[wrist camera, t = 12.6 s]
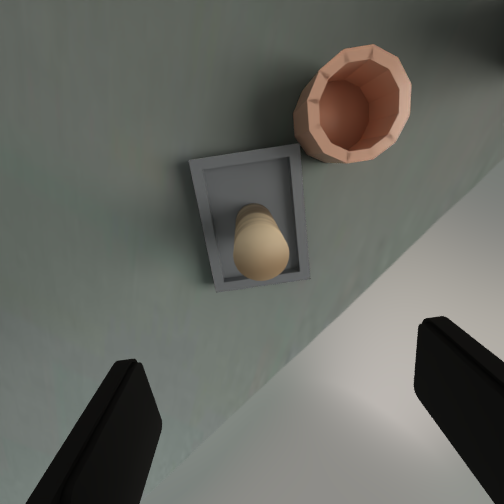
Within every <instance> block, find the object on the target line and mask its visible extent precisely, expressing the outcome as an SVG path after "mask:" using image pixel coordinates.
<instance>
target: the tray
mask: <svg viewBox="0 0 504 504" xmlns="http://www.w3.org/2000/svg"><path fill="white" fill-rule="evenodd" d="M188 161H189V165H190V170H191V175H192V180H193V184H194V189H195V194H196V199H197V204H198V208H199V213H200V218H201V223H202V227H203V232H204V237H205V242H206V247H207V251H208V256H209V261H210V266H211V270H212V275H213V280H214V285H215V290H216V292H223V291H230V290H237V289H244V288H251V287H258V286H265V285H272V284H279V283H286V282H293V281H300V280H307V279H310V267H309V254H308V242H307V229H306V216H305V203H304V190H303V178H302V165H301V152H300V143H296V144H290V145H283V146H277V147H270V148H264V149H257V150H250V151H244V152H237V153H231V154H224V155H218V156H211V157H204V158H198V159H191V160H188ZM251 203H257V204H261V205H263V206H265V207H266V208H267V209H268V210H269V212H270V213H271V215H272V217H273V219H274V221H275V222H276V224H277V226H278V228H279V230H280V231H281V233H282V235H283V237H284V239H285V240H286V242H287V244H288V247H289V260H288V263H287V265H286V267H285V269H284V270H283V271H282V272H281V273H280V274H279V275H278V276H276V277H274V278H272V279H269V280H265V281H256V280H252V279H249V278H247V277H245V276H244V275H242V274H241V273H240V272H239V270H238V269H237V267H236V265H235V263H234V259H233V250H234V238H235V225H236V217H237V214H238V212H239V211H240V209H241V208H242V207H244V206H245V205H248V204H251Z"/></svg>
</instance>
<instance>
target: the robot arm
mask: <svg viewBox="0 0 504 504" xmlns="http://www.w3.org/2000/svg"><path fill="white" fill-rule="evenodd" d="M414 390H415V393H416V395H417V397H418V399H419V400H420V401H421V403H422V404H423V406H424V407H425V408H426V410H427V411H428V412H429V414H430V415H431V417H432V418H433V419H434V421H435V422H436V423H437V425H438V426H439V427H440V429H441V430H442V432H443V433H444V434H445V436H446V437H447V438H448V440H449V441H450V443H451V444H452V445H453V447H454V448H455V450H456V451H457V452H458V454H459V455H460V456H461V458H462V459H463V461H464V462H465V463H466V464H467V466H468V467H469V469H470V470H471V472H472V473H473V474H474V476H475V477H476V478H477V480H478V481H479V483H480V484H481V485H482V487H483V488H484V489H485V491H486V492H487V494H488V495H489V496H490V498H491V499H492V501H493V502H494V503H495V504H504V362H503V361H502V360H500V359H499V358H498V357H497V356H495V355H494V354H493V353H492V352H490V351H489V350H487V349H486V348H485V347H484V346H482V345H481V344H480V343H479V342H477V341H476V340H475V339H474V338H472V337H471V336H470V335H469V334H467V333H466V332H465V331H463V330H462V329H461V328H460V327H458V326H457V325H456V324H454V323H453V322H452V321H451V320H449V319H448V318H447V317H444V316H440V317H433V318H426V319H424V320H423V322H422V324H420V325H419V326H418V337H417V349H416V362H415V376H414ZM161 430H162V419H161V416H160V413H159V411H158V408H157V405H156V402H155V399H154V396H153V393H152V391H151V388H150V385H149V382H148V379H147V376H146V374H145V371H144V368H143V365H142V363H140V362H139V363H138V362H137V360H136V359H128V360H120V361H116V362H115V363H114V364H113V366H112V368H111V369H110V371H109V372H108V374H107V375H106V377H105V379H104V380H103V382H102V383H101V385H100V386H99V388H98V390H97V391H96V393H95V394H94V396H93V398H92V399H91V401H90V402H89V404H88V405H87V407H86V409H85V410H84V412H83V413H82V415H81V417H80V418H79V420H78V421H77V423H76V424H75V426H74V428H73V429H72V431H71V432H70V434H69V436H68V437H67V439H66V440H65V442H64V443H63V445H62V447H61V448H60V450H59V451H58V453H57V455H56V456H55V458H54V459H53V461H52V462H51V464H50V466H49V467H48V469H47V470H46V472H45V473H44V475H43V477H42V478H41V480H40V481H39V483H38V485H37V486H36V488H35V489H34V491H33V492H32V494H31V496H30V497H29V499H28V500H27V502H26V504H139V503H140V500H141V497H142V494H143V490H144V487H145V484H146V480H147V477H148V474H149V470H150V467H151V464H152V460H153V457H154V454H155V450H156V447H157V444H158V441H159V437H160V434H161Z"/></svg>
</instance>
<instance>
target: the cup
mask: <svg viewBox="0 0 504 504" xmlns="http://www.w3.org/2000/svg"><path fill="white" fill-rule="evenodd" d="M410 103H411V82H410V80H409V78H408V76H407V74H406V72H405V70H404V68H403V66H402V64H401V62H400V60H399V58H398V57H396V56H394V55H393V54H391V53H389V52H387V51H385V50H383V49H381V48H379V47H377V46H376V45H374V44H372V45H366V46H359V47H353V48H347V49H343V50H342V51H341V52H340V53H339V54H337V55H336V56H335V57H334V58H333V59H332V60H330V61H329V62H328V63H327V64H326V65H325V66H323V67H322V68H321V69H320V70H319V71H318V72H317V74H316V75H315V76H314V77H313V78H312V79H311V81H310V82H309V83H308V84H307V85H306V87H305V88H304V89H303V90H302V92H301V95H300V97H299V100H298V102H297V105H296V107H295V110H294V112H293V121H294V133H295V138H296V139H297V141H298V142H299V143H300V145H301V147H302V148H303V150H304V151H305V153H306V154H307V155H309V156H311V157H313V158H315V159H318V160H320V161H322V162H324V163H352V162H359V161H366V160H372V159H374V158H375V157H377V156H378V155H379V154H381V153H382V152H383V151H385V150H386V149H387V148H389V147H390V146H391V145H392V144H394V143H395V142H396V140H397V139H398V137H399V135H400V133H401V131H402V129H403V127H404V125H405V123H406V121H407V120H408V118H409V116H410Z"/></svg>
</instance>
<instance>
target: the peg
mask: <svg viewBox="0 0 504 504" xmlns="http://www.w3.org/2000/svg"><path fill="white" fill-rule="evenodd" d="M233 259H234V263H235V265H236V267H237V269H238V270H239V272H240V273H241V274H242V275H244V276H245V277H247V278H249V279H252V280H256V281H265V280H269V279H272V278H274V277H276V276H278V275H279V274H280V273H281V272H282V271H283V270H284V269H285V267H286V265H287V263H288V260H289V247H288V244H287V242H286V240H285V239H284V237H283V235H282V233H281V231H280V230H279V228H278V226H277V224H276V222H275V221H274V219H273V217H272V215H271V213H270V212H269V210H268V209H267V208H266V207H265V206H263V205H261V204H257V203H251V204H248V205H245V206H244V207H242V208H241V209H240V211H239V212H238V214H237V217H236V225H235V238H234V250H233Z"/></svg>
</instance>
